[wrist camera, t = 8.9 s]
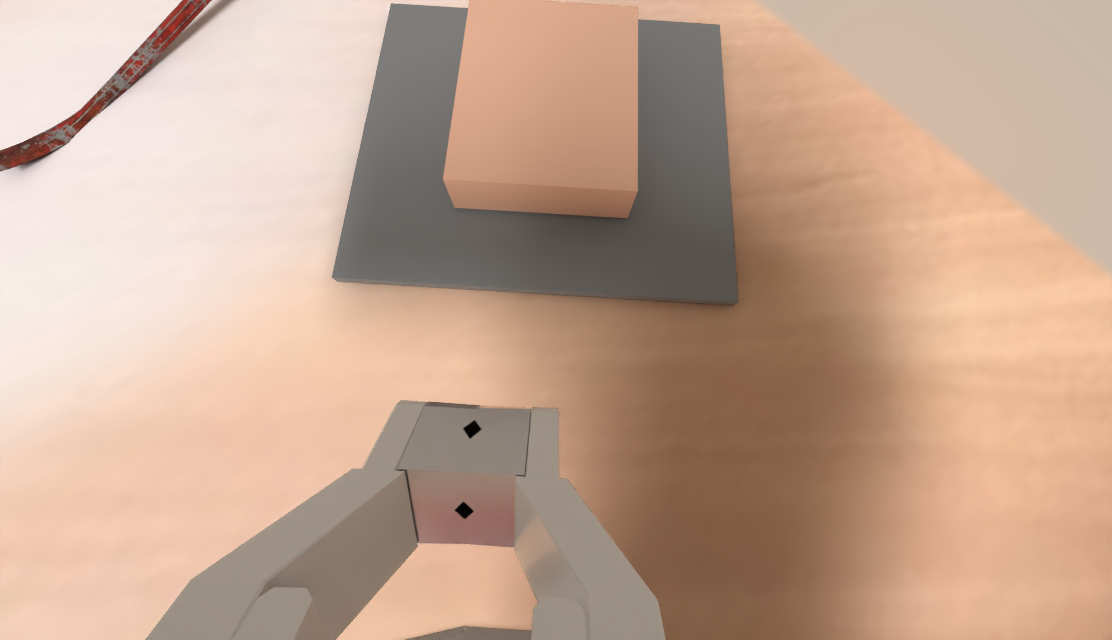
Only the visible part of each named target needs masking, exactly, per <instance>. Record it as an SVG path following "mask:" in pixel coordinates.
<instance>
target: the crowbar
mask: <svg viewBox="0 0 1112 640" xmlns="http://www.w3.org/2000/svg"><path fill="white" fill-rule="evenodd" d="M210 1H211V0H182V1H181V2H180V3H179V5H178V6H177V7H176V8H175V9H174V10H173V11H172V12H171V13H170V14H169V15H168V17H167V18H166V19H165V20H164V21H163V22H162V23H161V24H160V25H159V26H158V27H157V28H156V30H155V31H154V32H153V33H152V34H151V35H150V36H149V37H148V38H147V39H146V40H145V41H144V43H143V44H142V45H141V46H140V47H139V48H138V49H137V50H136V51H135V52H134V53H133V54H132V56H131V57H130V58H129V59H128V60H127V61H126V62H125V63H124V64H123V65H122V66H121V67H120V69H119V70H118V71H117V72H116V73H115V74H114V75H113V76H112V77H111V78H110V79H109V80H108V81H107V83H106V84H105V85H104V86H103V87H102V88H101V89H100V90H99V91H98V92H97V93H96V94H95V95H94V96H93V97H92V98H91V99H90V100H89V101H88V102H87V103H86V104H85V105H84V106H83V107H82V109H80V110H79V111H78V112H76V113H75V114H74V115H72V116H71V117H69V118H68V119H66V120H64V121H63V122H61V123H59V124H57V125H56V126H54V127H52V128H51V129H49V130H47V131H45V132H42V133H40V134H38V135H36V136H34V137H32V138H30V139H28V140H26V141H24V142H22V143H19V144H17V145H14V146H11V147H9V148H6V149H3V150H1V151H0V171H4V170H7V169H10V168H13V167H16V166H19V165H21V164H24V163H26V162H29V161H31V160H34V159H36V158H39V157H41V156H43V155H45V154H47V153H50V152H52V151H54V150H56V149H58V148H60V147H62V146H64V145H65V144H67V143H69V142H70V140H71V139H72V138H73V137H74V136H75V135H76V134H77V133H78V132H79V131H80V130H81V129H82V128H83V127H84V126H85V125H86V124H87V123H88V122H89V121H90V120H91V119H93V118H94V117H95V116H97V115H98V114H99V113H100V112H101V111H103V110H104V109H105V108H106V107H107V106H108V105H110V104H111V103H112V102H113V101H114V100H115V99H117V98H118V97H119V96H120V95H121V94H123V93H124V92H125V91H126V90H127V89H128V88H129V87H130V86H131V85H132V84H133V83H134V82H135V81H136V80H137V79H138V78H139V77H140V76H141V75H142V74H143V73H144V72H145V70H146V69H147V68H148V67H149V66H150V65H151V64H152V63H153V62H154V61H155V60H156V59H157V58H158V57H159V56H160V55H161V53H162V52H163V51H164V50H165V49H166V48H167V47H168V46H169V45H170V44H171V43H172V42H173V41H174V40H175V39H176V38H177V37H178V35H179V34H180V33H181V32H182V31H183V30H184V29H185V28H186V27H187V26H188V25H189V24H190V23H191V22H192V21H193V20H194V18H195V17H196V16H197V15H198V14H199V13H200V12H201V11H202V10H203V9H204V8H205V7H206V6H207V5H208V4H209V3H210Z"/></svg>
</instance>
